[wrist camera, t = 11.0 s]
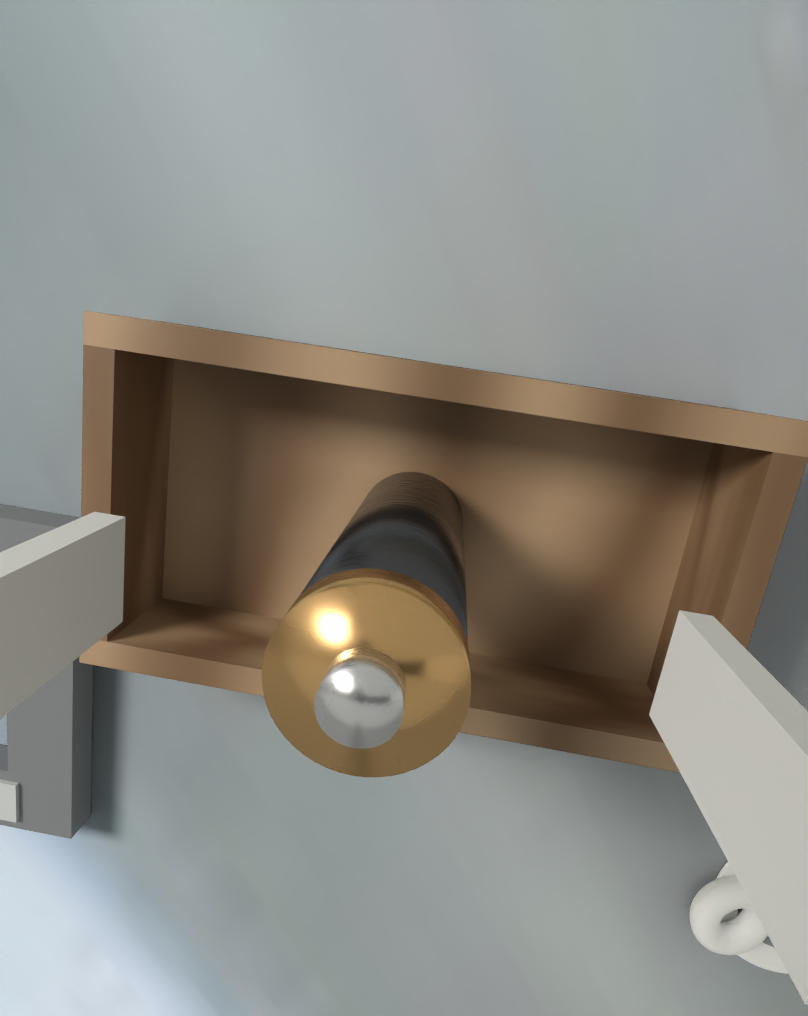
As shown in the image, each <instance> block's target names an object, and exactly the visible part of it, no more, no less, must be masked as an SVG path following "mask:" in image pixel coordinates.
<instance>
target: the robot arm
mask: <svg viewBox="0 0 808 1016" xmlns="http://www.w3.org/2000/svg"><path fill="white" fill-rule="evenodd" d="M124 553H125V517H123V516H117V515H111V514H105V513H99V512H93V513H90V514H88V515H86V516H83V517H81V518H79V519H76V520H74V521H72V522H70V523H67V524H65V525H63V526H60V527H58V528H56V529H53V530H51V531H49V532H46V533H44V534H42V535H39V536H37V537H35V538H32V539H30V540H28V541H25V542H23V543H21V544H18V545H16V546H14V547H11V548H9V549H7V550H5V551H2V552H0V719H1V718H3V717H4V716H5V715H6V714H8V713H9V712H10V711H11V710H13V709H14V708H15V707H16V706H18V705H19V704H20V703H21V702H23V701H24V700H25V699H26V698H28V697H29V696H30V695H31V694H33V693H34V692H35V691H36V690H38V689H39V688H40V687H41V686H43V685H44V684H45V683H46V682H48V681H49V680H50V679H51V678H53V677H54V676H55V675H57V674H58V673H59V672H60V671H62V670H63V669H64V668H65V667H67V666H68V665H69V664H70V663H72V662H73V661H74V660H75V659H77V658H78V657H79V656H80V655H82V654H83V653H84V652H85V651H87V650H88V649H89V648H90V647H92V646H93V645H94V644H95V643H97V642H98V641H99V640H100V639H102V638H103V637H104V636H105V635H107V634H108V633H109V632H110V631H112V630H113V629H114V628H115V627H117V626H118V625H119V624H120V623H122V622H123V590H124ZM649 715H650V717H651V719H652V721H653V723H654V725H655V727H656V728H657V730H658V732H659V734H660V736H661V738H662V740H663V741H664V743H665V745H666V747H667V749H668V751H669V753H670V754H671V756H672V758H673V760H674V762H675V764H676V766H677V767H678V769H679V771H680V773H681V775H682V777H683V779H684V780H685V782H686V784H687V786H688V788H689V790H690V792H691V793H692V795H693V797H694V799H695V801H696V803H697V805H698V806H699V808H700V810H701V812H702V814H703V816H704V818H705V819H706V821H707V823H708V825H709V827H710V829H711V830H712V832H713V834H714V836H715V838H716V840H717V842H718V843H719V845H720V847H721V849H722V851H723V853H724V855H725V856H726V858H727V860H728V862H729V864H730V866H731V868H732V869H733V871H734V873H735V875H736V877H737V879H738V881H739V882H740V884H741V886H742V888H743V890H744V892H745V894H746V895H747V897H748V899H749V901H750V903H751V905H752V907H753V908H754V910H755V912H756V914H757V916H758V918H759V920H760V921H761V923H762V925H763V927H764V929H765V931H766V933H767V934H768V936H769V938H770V940H771V942H772V944H773V945H774V947H775V949H776V951H777V953H778V955H779V957H780V958H781V960H782V962H783V964H784V966H785V968H786V970H787V971H788V973H789V975H790V977H791V979H792V981H793V983H794V984H795V986H796V988H797V990H798V992H799V994H800V996H801V997H802V999H803V1001H804V1003H805V1005H808V711H807V710H806V709H805V708H804V707H803V706H802V705H801V704H800V703H799V702H798V701H797V700H796V699H795V698H794V697H793V696H792V695H791V694H790V693H789V692H788V691H787V690H786V689H785V688H784V687H783V686H782V685H781V684H780V683H779V682H778V681H777V680H776V679H775V678H774V677H773V676H772V675H771V674H770V673H769V672H768V671H767V670H766V669H765V668H764V667H763V666H762V665H761V664H760V663H759V662H758V661H757V660H756V659H755V658H754V657H753V656H752V655H751V654H750V653H749V652H748V651H747V650H746V649H745V648H744V647H743V646H742V645H741V644H740V643H739V642H738V641H737V640H736V639H735V638H734V636H733V635H732V634H731V633H730V632H729V631H728V630H727V629H726V628H725V627H724V626H723V625H722V624H721V623H720V622H719V621H718V620H717V619H716V618H715V617H714V616H711V615H705V614H699V613H693V612H687V611H681V610H679V613H678V616H677V620H676V623H675V627H674V630H673V634H672V637H671V641H670V644H669V647H668V651H667V654H666V658H665V661H664V665H663V668H662V672H661V675H660V679H659V682H658V686H657V689H656V692H655V696H654V699H653V703H652V706H651V710H650V713H649Z"/></svg>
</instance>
